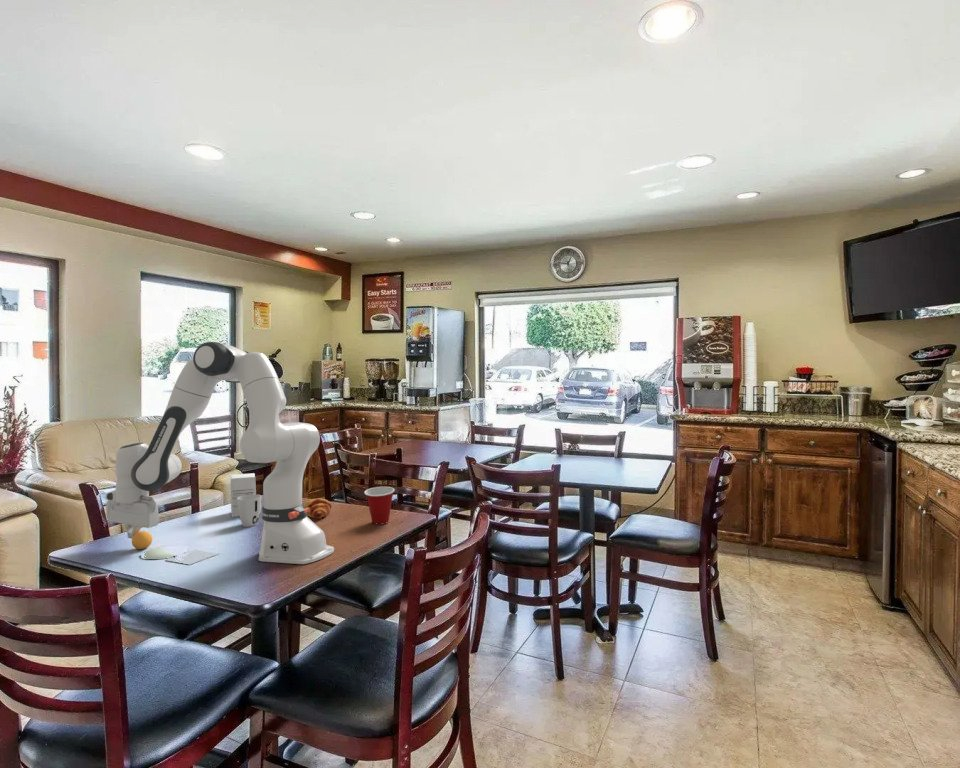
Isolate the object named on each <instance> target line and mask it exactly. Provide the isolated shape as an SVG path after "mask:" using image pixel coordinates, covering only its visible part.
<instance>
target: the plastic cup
mask: <svg viewBox="0 0 960 768" xmlns="http://www.w3.org/2000/svg"><path fill="white" fill-rule="evenodd" d="M394 492H395V488H394V487H391V486H376V487H370V488H368V489H366V490H365V491H364V495H365V497H366V500H367V503H368V508H369V514H370V517H371V518H370V519H371V523H372V522H373V523H377V524H376V525H382V524H381V523H386V522H388V523H389V520H390V514H391V509H392V500H393V495H394ZM373 523H372V524H373ZM386 524H387V523H386Z"/></svg>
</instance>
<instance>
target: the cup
mask: <svg viewBox="0 0 960 768" xmlns="http://www.w3.org/2000/svg"><path fill="white" fill-rule="evenodd" d="M262 499H263V498H262V495H261V494H256V495H245V496H241V497H238V498H237V501H238V511H239V519H240V523H241V524H242V527H247V528H248V527H255V526H257V525H258V524H259V520H260V517H261V513H262Z"/></svg>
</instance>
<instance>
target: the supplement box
mask: <svg viewBox="0 0 960 768" xmlns="http://www.w3.org/2000/svg"><path fill="white" fill-rule="evenodd" d="M255 475H256V474H255V473H254V472H253V473H241V474H240V473H239V474H238V473H237V474H231V475H230V505H231V506H230V513H231V518H237V517H238V516H239V511H238V501H237V498H238V497H241V496H245V495H257V490H256V487H257V486H256V485H257V484H256V476H255ZM239 517H240V516H239Z"/></svg>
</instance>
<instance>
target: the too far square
mask: <svg viewBox="0 0 960 768" xmlns="http://www.w3.org/2000/svg"><path fill="white" fill-rule="evenodd" d="M187 552H188V553H189V552H190V553H189V554H188V555H186V557H185V556H184V557H183V556H182V558H183V559H184V560H183V559H182V558H181V557H180V558H181V559H182V561H180V560H178V559H177V558H176V557H177V556H175V558H174V557H171V558H166V560H167V561H166V562H169V561H173V562H172V563H175V562H177V561H178V562H179V563H178V564H180V563H183V564H182V565H185V564H188V565H187V566H191V565H194V564H197V563H199V562H202V561H204V560H208V559H210V558H212V557H215V556H218V555H219V553H217V552H211V551H204V550H199V549H193V550H191V551H187ZM187 552H186V554H187ZM184 554H185V553H184ZM178 558H179V557H178ZM175 559H176V560H177V561H176V560H175ZM201 560H202V561H201ZM196 562H197V563H196ZM193 563H194V564H193ZM190 564H191V565H190Z"/></svg>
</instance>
